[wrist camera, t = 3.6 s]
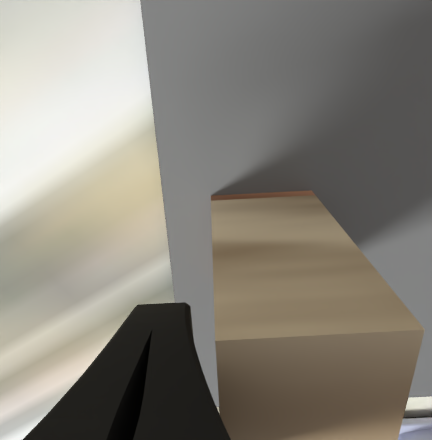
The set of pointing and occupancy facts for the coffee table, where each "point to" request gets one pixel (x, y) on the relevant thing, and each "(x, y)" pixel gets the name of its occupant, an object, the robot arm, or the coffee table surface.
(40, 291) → the coffee table surface
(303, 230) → the maple block
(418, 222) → the mat
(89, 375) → the robot arm
